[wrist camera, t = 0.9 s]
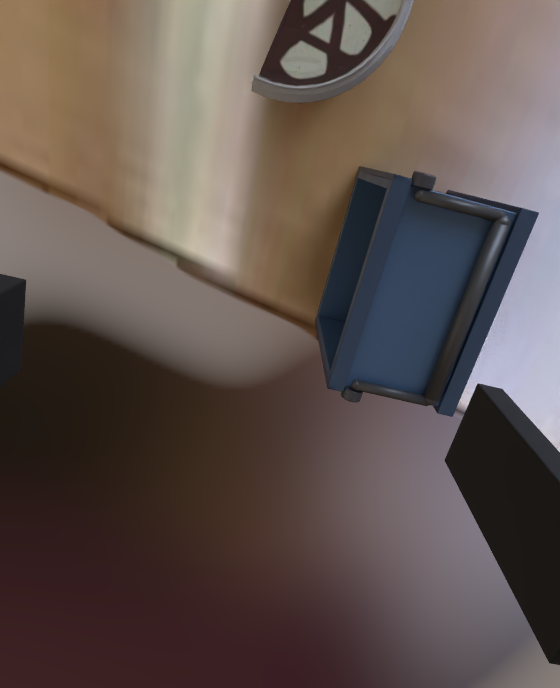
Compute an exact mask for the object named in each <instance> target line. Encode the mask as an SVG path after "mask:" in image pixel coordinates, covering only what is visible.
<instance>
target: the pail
mask: <svg viewBox="0 0 560 688" xmlns="http://www.w3.org/2000/svg"><path fill="white" fill-rule="evenodd" d="M435 180H436V177H435V176H432V175H429V174H425V173H421V172H417V171H414V172H413V175H412V178H407V177H403V176H400V175H396V174H391V173H387V172H382V171H378V170H373V169H369V168H364V167H359V170H358V173H357V177H356V180H355V184H354V187H353V191H352V194H351V198H350V201H349V205H348V208H347V212H346V215H345V219H344V222H343V226H342V229H341V233H340V236H339V239H338V243H337V246H336V250H335V253H334V257H333V260H332V264H331V267H330V271H329V274H328V278H327V281H326V285H325V288H324V292H323V295H322V299H321V302H320V306H319V309H318V312H317V316H316V319H315V324H316V329H317V335H318V340H319V345H320V351H321V356H322V361H323V367H324V371H325V377H326V382H327V388H328V389H332V390H337V391H341V392H342V393H341V396H342V397H343V398H344V399H346V400H347V401H351V402H359V401H360V399H361V396H362V393H363V392H367V393H371V394H376V395H380V396H385V397H389V398H393V399H398V400H402V401H406V402H411V403H415V404H420V405H424V406H428V405H433V407H434V408H435V410H436V412H437V413H438V414H443V415H447V416H453V414H454V412H455V410H456V407H457V405H458V403H459V400H460V398H461V396H462V393H463V391H464V388H465V386H466V384H467V381H468V379H469V377H470V374H471V372H472V370H473V367H474V365H475V363H476V360H477V358H478V355H479V353H480V351H481V348H482V346H483V344H484V341H485V339H486V337H487V334H488V332H489V330H490V327H491V325H492V322H493V320H494V318H495V315H496V313H497V311H498V308H499V306H500V304H501V301H502V299H503V297H504V294H505V292H506V290H507V287H508V285H509V282H510V280H511V278H512V275H513V273H514V271H515V268H516V266H517V264H518V261H519V259H520V257H521V254H522V252H523V249H524V247H525V245H526V242H527V240H528V238H529V235H530V233H531V231H532V228H533V226H534V224H535V221H536V219H537V216H538V214H539V213H538V212H535V211H531V210H527V209H523V208H519V207H515V206H511V205H507V204H503V203H499V202H495V201H491V200H487V199H483V198H479V197H475V196H471V195H466V194H462V193H458V192H454V191H450V190H448V191H447V194H445V193H441V192H437V191H434V190H432V189H433V186H434V183H435Z"/></svg>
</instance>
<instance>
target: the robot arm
mask: <svg viewBox="0 0 560 688" xmlns="http://www.w3.org/2000/svg"><path fill="white" fill-rule="evenodd" d="M25 290H26V280H24V279H20V278H16V277H11V276H7V275H2V274H0V387H1V386H2V385H3V384H4V383H5V382H6V381H8V380H9V379H10V378H11V377H12V376H14V375H15V374H16V373H17V372H18V371H20V369H21V359H22V358H21V357H22V343H23V324H24V307H25ZM445 462H446V464H447V466H448V468H449V470H450V472H451V473H452V476H453V477H454V479H455V481H456V483H457V485H458V487H459V489H460V491H461V493H462V495H463V497H464V499H465V501H466V503H467V504H468V506H469V508H470V510H471V512H472V514H473V516H474V518H475V520H476V522H477V524H478V526H479V528H480V530H481V532H482V533H483V536H484V537H485V539H486V541H487V543H488V545H489V547H490V549H491V551H492V553H493V555H494V557H495V559H496V561H497V563H498V565H499V566H500V568H501V570H502V572H503V574H504V576H505V578H506V580H507V582H508V584H509V586H510V588H511V590H512V592H513V594H514V596H515V598H516V599H517V601H518V603H519V605H520V607H521V609H522V611H523V613H524V615H525V617H526V619H527V620H528V623H529V624H530V626H531V628H532V630H533V632H534V634H535V636H536V638H537V640H538V642H539V644H540V646H541V648H542V650H543V652H544V654H545V655H546V658H547V659H548V661H549V663H552V664H557V665H560V452H559V451H558V450H557V449H556V448H555V447H554V446H553V445H552V443H551V442H550V441H549V440H548V439H547V438H546V437H545V436H544V435H543V434H542V432H541V431H540V430H539V429H538V428H537V427H536V426H535V425H534V424H533V422H532V421H531V420H530V419H529V418H528V417H527V416H526V415H525V414H524V413H523V411H522V410H521V409H520V408H519V407H518V406H517V405H516V404H515V403H514V402H513V400H512V399H511V398H510V397H509V396H508V395H507V394H506V393H505V392H504V391H503V389H500V388H496V387H491V386H487V385H483V384H477V386H476V389H475V391H474V393H473V396H472V398H471V400H470V403H469V405H468V407H467V410H466V412H465V414H464V416H463V419H462V421H461V423H460V426H459V428H458V430H457V433H456V435H455V438H454V440H453V442H452V444H451V447H450V449H449V451H448V454H447V456H446V458H445Z"/></svg>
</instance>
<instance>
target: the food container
mask: <svg viewBox="0 0 560 688" xmlns="http://www.w3.org/2000/svg"><path fill="white" fill-rule="evenodd" d="M412 3H413V0H291V1H290V3H289V6H288V8H287V10H286V13H285V15H284V17H283V19H282V22H281V24H280V26H279V29H278V31H277V33H276V36H275V38H274V40H273V43H272V45H271V47H270V50H269V52H268V54H267V57H266V59H265V62H264V64H263V66H262V69H261V71H260V74H259V76H256V75H254V80H253V82H252V89H251V91H253V92H255V93H258V94H260V95H262V96H264V97H267V98H271V99H275V100H279V101H283V102H294V103H306V102H316V101H320V100H324V99H328V98H332V97H335V96H337V95H339V94H341V93H343V92H345V91H348V90H350V89H351V88H353V87H354V86H356V85H357V84H359V83H360V82H362V81H363V80H365V79H366V78H367V77H368V76H369V75H370V74H371V73H372V72H373V71H374V70H376V69H377V68H378V67H379V66H380V64H381V63H382V62H383V61H384V59H385V58H386V57H387V56H388V54H389V53H390V52H391V50H392V49H393V47H394V45H395V44H396V42H397V40H398V39H399V37H400V35H401V33H402V31H403V29H404V26H405V24H406V22H407V19H408V17H409V14H410V11H411V7H412Z"/></svg>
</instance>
